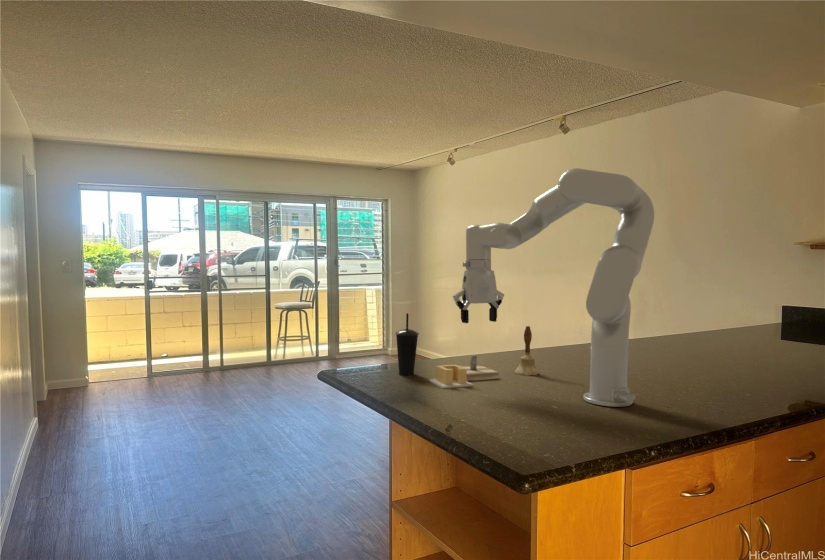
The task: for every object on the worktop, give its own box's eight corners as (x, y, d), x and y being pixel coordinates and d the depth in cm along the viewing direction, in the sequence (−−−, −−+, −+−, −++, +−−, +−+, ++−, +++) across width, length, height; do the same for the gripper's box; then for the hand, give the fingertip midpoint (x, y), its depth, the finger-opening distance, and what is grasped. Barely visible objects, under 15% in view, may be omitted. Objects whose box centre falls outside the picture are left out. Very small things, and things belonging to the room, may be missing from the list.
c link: (466, 383, 163) (466, 368, 163) (445, 384, 160) (445, 370, 160) (456, 378, 170) (456, 364, 169) (435, 379, 167) (436, 365, 167)
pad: (472, 386, 162) (472, 384, 162) (442, 388, 158) (442, 386, 158) (458, 379, 171) (458, 377, 171) (429, 381, 168) (429, 379, 168)
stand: (498, 378, 173) (499, 358, 173) (465, 380, 169) (465, 359, 169) (480, 371, 185) (480, 352, 184) (448, 373, 180) (449, 353, 180)
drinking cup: (418, 372, 181) (420, 312, 181) (416, 376, 174) (418, 314, 173) (396, 371, 182) (397, 312, 181) (393, 375, 174) (394, 314, 174)
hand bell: (541, 375, 179) (543, 328, 178) (516, 375, 179) (517, 327, 179) (536, 370, 187) (537, 325, 187) (512, 370, 187) (513, 324, 187)
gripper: (459, 266, 158) (459, 324, 158) (509, 265, 164) (510, 321, 164) (447, 266, 164) (448, 322, 165) (496, 265, 171) (497, 319, 171)
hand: (479, 322), depth 165 cm, fingers open, 9 cm apart
